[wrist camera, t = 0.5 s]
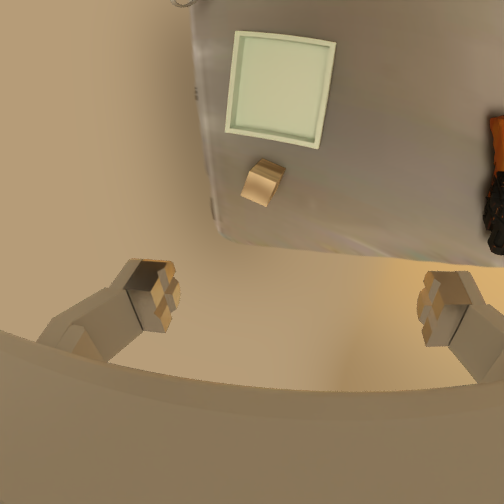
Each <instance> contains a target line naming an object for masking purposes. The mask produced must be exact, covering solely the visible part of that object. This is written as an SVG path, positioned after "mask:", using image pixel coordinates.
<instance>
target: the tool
mask: <svg viewBox="0 0 504 504" xmlns="http://www.w3.org/2000/svg"><path fill="white" fill-rule="evenodd" d="M490 129H491V131H492V134H493V138H494V141H493V147H494V149H495V155H494V165H495V171H494V175H493V179H492V183H491V187H490V190H489V194H488V197H486V199H487V201H488V202H487V205H486V208H485V209H486V210H485V213H486V215H483V220H484V223H485V226H486V229H487V230H490V231H491V232H492V233H491V235H490V237H489V239H488V245H489V247H490V250H491V252H493V253H494V254H497V255H504V115H503V116H499V117H494V118H491V119H490Z"/></svg>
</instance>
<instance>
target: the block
mask: <svg viewBox="0 0 504 504" xmlns="http://www.w3.org/2000/svg"><path fill="white" fill-rule="evenodd" d="M285 169H286V168H283V167H281V166H279V165H277V164H274V163H272V162H270V161H267V160H265V159H263V158H262V159H261V160H260V161H259V162H258V163H257V164H256V165H255V166H254V167H253V168H252V169H251V170H250V171H249V174H248V177H247V180H246V182H245V185H244V188H243V190H242V193H241V196H243V197H245V198H247V199H250V200H252V201H254V202H256V203H259V204H261V205H263V206H265V207H267V205H268V203H269V202H270V200H271V199H272V197H273V195H274V194H275V192H276V190H277V188H278V186H279V184H280V181H281V179H282V176H283V174H284V172H285Z"/></svg>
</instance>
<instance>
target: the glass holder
mask: <svg viewBox="0 0 504 504" xmlns="http://www.w3.org/2000/svg"><path fill="white" fill-rule="evenodd" d="M170 1H171V3H172V4H173V5H175V6H177V7H188V6H191V5H193V4H194V3H196V2H197V0H192V1H191V2H190V3H188V4H186V5H180V4H178V3H177V2H176V1H175V0H170Z"/></svg>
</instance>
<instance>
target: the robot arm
mask: <svg viewBox="0 0 504 504" xmlns="http://www.w3.org/2000/svg"><path fill="white" fill-rule="evenodd" d="M175 272H176V270H175V267H174V264H173V262H171V261H164V260H151V259H135V258H134V259H133V258H132V259H129V260H128V262H127V263H126V264H125V266H124V267H123V269H122V270H121V271H120V273H119V274H118V275H117V277H116V278H115V280H114V281H113V283H112V284H111V286H110V287H109V288H104V289H102V290H100V291H98V292H97V293H95V294H93V295H91V296H90V297H88V298H86V299H84V300H83V301H81V302H79V303H78V304H76V305H74V306H73V307H71V308H69V309H68V310H66V311H64V312H62V313H61V314H59V315H57V316H56V317H54V318H53V319H52V320H51V321H50V323H49V324H48V325H47V327H46V328H45V330H44V331H43V333H42V334H41V335H40V337H39V339H38V340H37V341H36V342H33V341H30V340H27V339H24V338H21V337H18V336H16V335H13V334H10V333H7V332H4V331H2V330H0V504H504V316H503V315H502V314H501V313H500V312H499V311H497V310H496V309H495V308H493V307H492V306H491V305H489V304H488V305H486V303H485V301H484V299H483V297H482V295H481V293H480V291H479V289H478V287H477V285H476V283H475V281H474V279H473V277H472V275H471V274H470V272H468V271H455V272H444V271H443V272H442V271H428V272H427V274H426V275H425V278H424V281H423V282H424V284H425V288H424V289H423V290H422V291H420V294H419V297H418V301H417V315H418V319H419V321H420V322H421V323H422V324H423V325H424V326H423V329H422V334H423V338H424V341H425V345H426V347H427V346H428V347H431V346H449V347H448V348H449V349H450V350H451V351H452V352H453V354H454V355H455V356H456V357H457V358H458V360H459V361H460V362H461V363H462V365H463V366H464V367H465V368H466V369H467V370H468V372H469V373H470V374H471V376H472V377H473V378H474V379H475V380H476V382H477V383H478V384H471V385H463V386H453V387H444V388H432V389H418V390H402V391H401V390H400V391H369V392H368V391H365V392H344V391H341V392H340V391H339V392H338V391H308V390H288V389H274V388H262V387H252V386H242V385H233V384H224V383H216V382H209V381H202V380H195V379H189V378H182V377H177V376H171V375H165V374H160V373H154V372H149V371H144V370H139V369H134V368H130V367H125V366H120V365H116V364H112V363H108V361H109V360H110V359H111V358H113V357H114V356H115V355H116V354H117V353H118V352H120V351H121V350H122V349H123V348H124V347H126V346H127V345H128V344H129V343H130V342H132V341H133V340H134V339H135V338H136V337H137V336H139V335H140V334H141V333H142V332H143V331H150V332H159V333H166V331H167V329H168V327H169V324H170V322H171V320H172V317H171V312H173V311H174V310H176V309H177V306H178V304H179V301H180V286H179V282H178V281H177V280H176V279H175V278H174V277H173V276H174V274H175Z"/></svg>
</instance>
